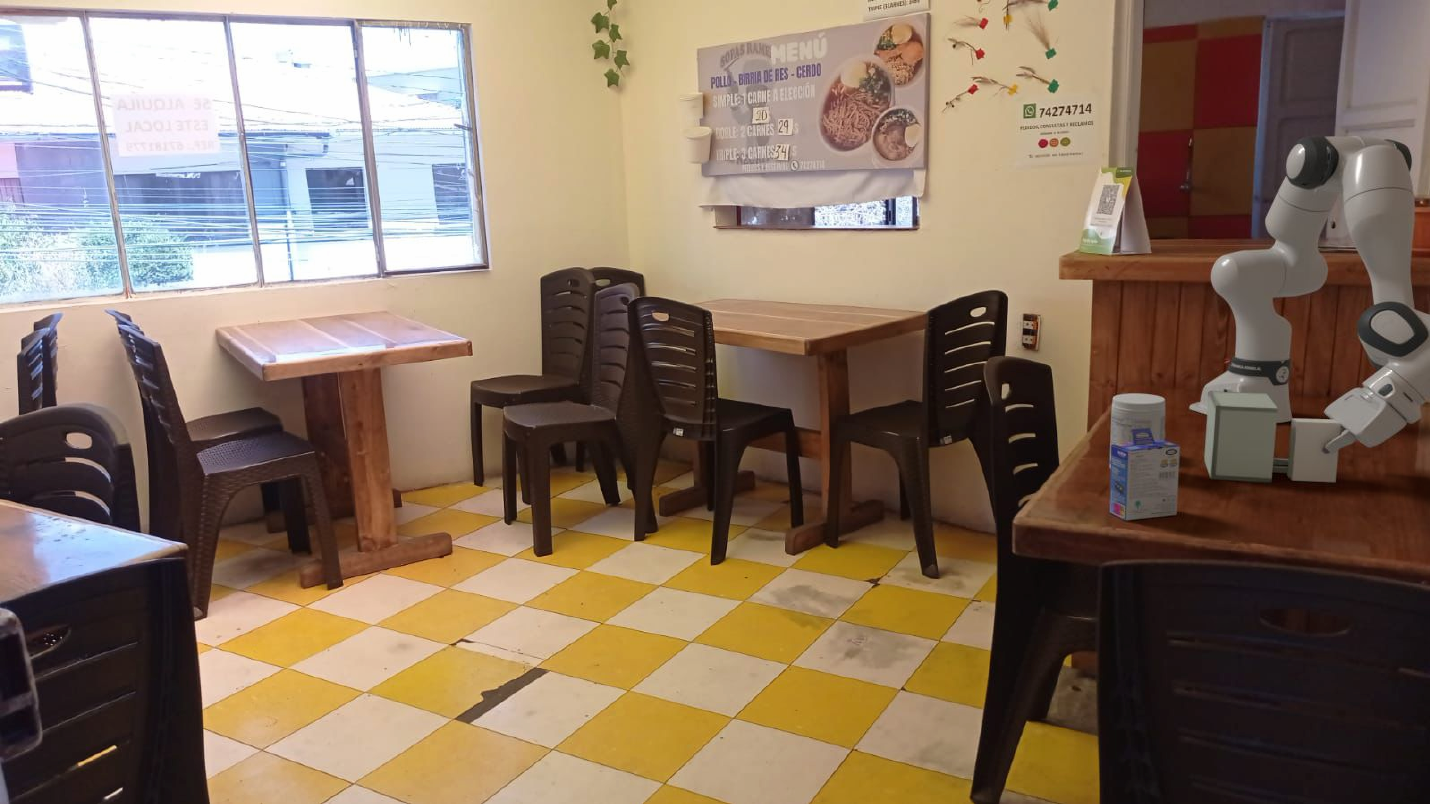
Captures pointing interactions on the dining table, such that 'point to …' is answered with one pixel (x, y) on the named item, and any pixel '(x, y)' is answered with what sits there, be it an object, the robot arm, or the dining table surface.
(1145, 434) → the supplement tub
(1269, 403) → the cabinet
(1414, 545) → the dining table surface
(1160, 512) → the ink cartridge box
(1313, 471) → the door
